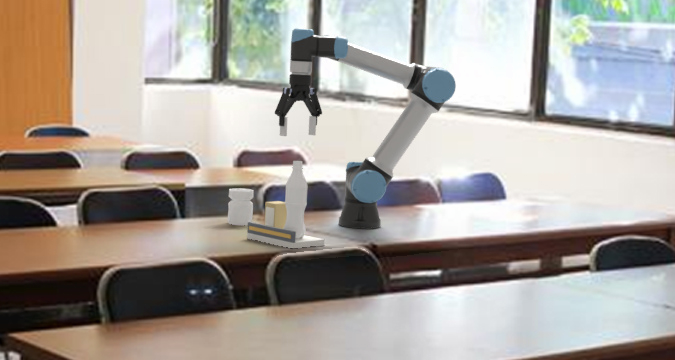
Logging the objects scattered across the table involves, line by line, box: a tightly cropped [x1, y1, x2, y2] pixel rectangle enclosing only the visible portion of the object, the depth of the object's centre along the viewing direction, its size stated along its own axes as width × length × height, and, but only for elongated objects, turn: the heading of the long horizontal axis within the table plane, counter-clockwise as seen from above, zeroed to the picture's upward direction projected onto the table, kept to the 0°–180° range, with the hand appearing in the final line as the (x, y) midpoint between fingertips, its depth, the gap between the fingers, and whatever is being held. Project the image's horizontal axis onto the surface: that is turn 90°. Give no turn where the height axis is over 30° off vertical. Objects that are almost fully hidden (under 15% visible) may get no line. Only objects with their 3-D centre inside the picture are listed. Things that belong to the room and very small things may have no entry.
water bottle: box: [284, 160, 309, 239], centre depth 416 cm, size 7×7×25 cm
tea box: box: [263, 200, 287, 229], centre depth 426 cm, size 6×5×10 cm
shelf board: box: [246, 221, 325, 249], centre depth 420 cm, size 14×22×6 cm, turn 45°
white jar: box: [227, 187, 255, 227], centre depth 454 cm, size 9×9×12 cm
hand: (297, 135), depth 445 cm, fingers open, 13 cm apart
